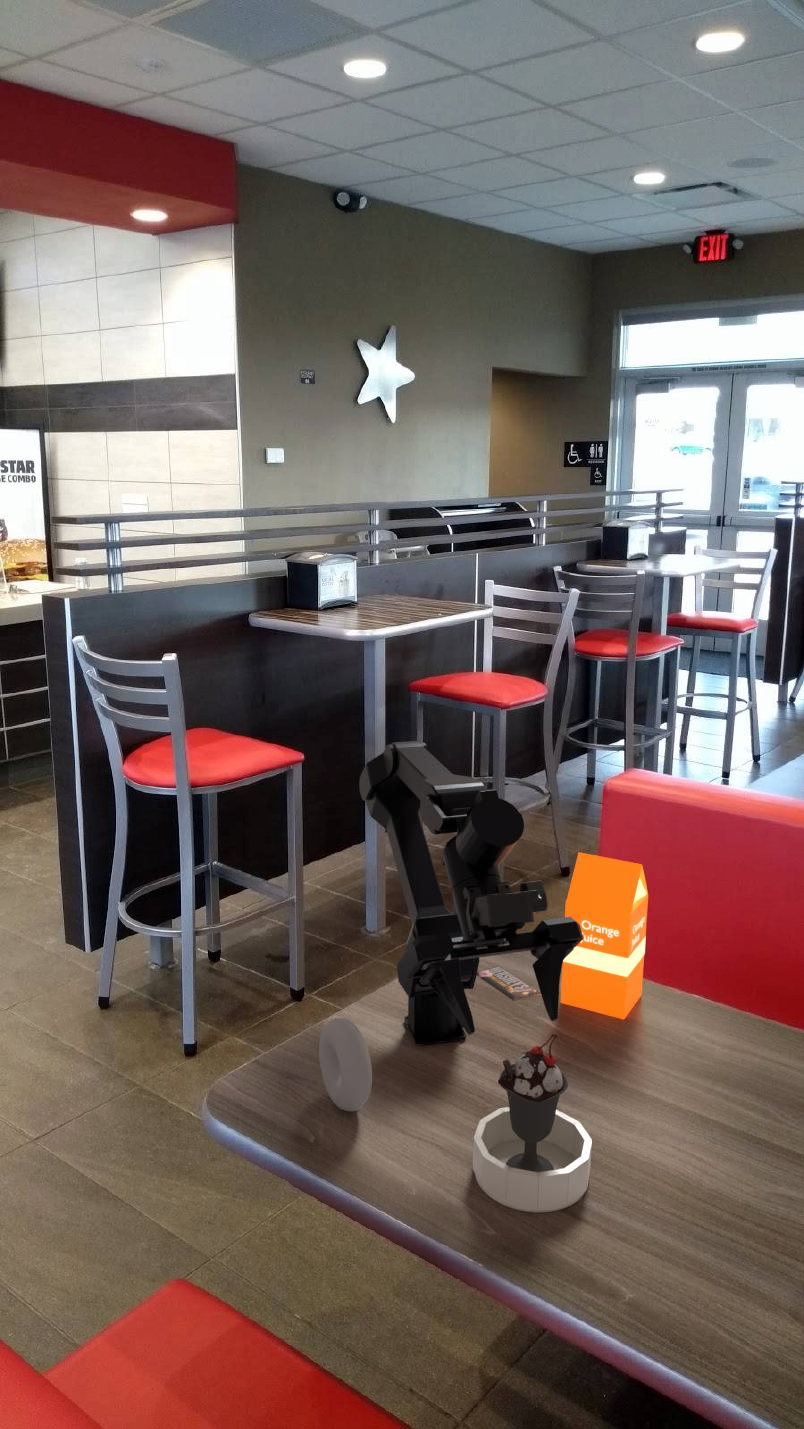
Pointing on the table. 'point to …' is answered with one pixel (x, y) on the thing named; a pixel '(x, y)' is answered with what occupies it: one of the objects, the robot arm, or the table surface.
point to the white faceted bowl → (530, 1188)
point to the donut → (345, 1064)
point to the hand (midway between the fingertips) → (513, 1026)
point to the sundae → (532, 1102)
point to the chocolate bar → (507, 984)
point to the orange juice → (606, 935)
